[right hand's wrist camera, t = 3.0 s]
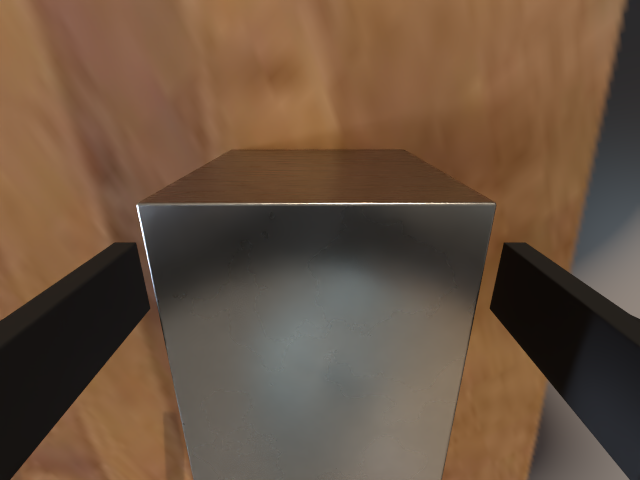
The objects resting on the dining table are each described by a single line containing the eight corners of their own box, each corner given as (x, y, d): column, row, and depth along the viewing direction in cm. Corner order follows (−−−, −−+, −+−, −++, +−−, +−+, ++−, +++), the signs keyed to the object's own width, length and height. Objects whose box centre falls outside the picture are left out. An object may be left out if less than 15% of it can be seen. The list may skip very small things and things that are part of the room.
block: (389, 322, 17) (441, 485, 10) (246, 323, 17) (193, 486, 10) (405, 149, 14) (498, 202, 7) (230, 149, 14) (134, 203, 7)
